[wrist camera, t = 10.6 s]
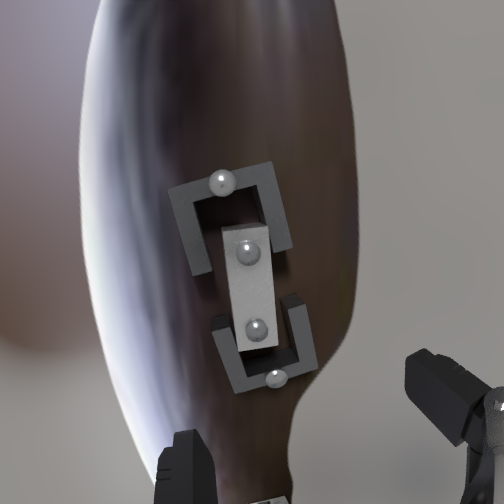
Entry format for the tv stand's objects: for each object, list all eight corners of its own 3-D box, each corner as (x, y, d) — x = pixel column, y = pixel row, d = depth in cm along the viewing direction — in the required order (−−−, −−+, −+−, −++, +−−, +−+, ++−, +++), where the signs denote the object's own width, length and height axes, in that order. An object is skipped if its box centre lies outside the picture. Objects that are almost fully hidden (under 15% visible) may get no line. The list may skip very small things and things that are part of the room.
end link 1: (171, 187, 24) (165, 185, 21) (263, 162, 25) (272, 156, 21) (194, 267, 26) (192, 278, 22) (283, 241, 26) (295, 248, 23)
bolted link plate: (220, 226, 26) (222, 232, 21) (259, 221, 26) (269, 226, 22) (234, 331, 28) (238, 354, 23) (269, 325, 28) (279, 347, 24)
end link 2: (309, 355, 29) (320, 373, 25) (232, 378, 28) (236, 399, 25) (295, 292, 27) (307, 306, 24) (211, 318, 27) (211, 335, 23)
